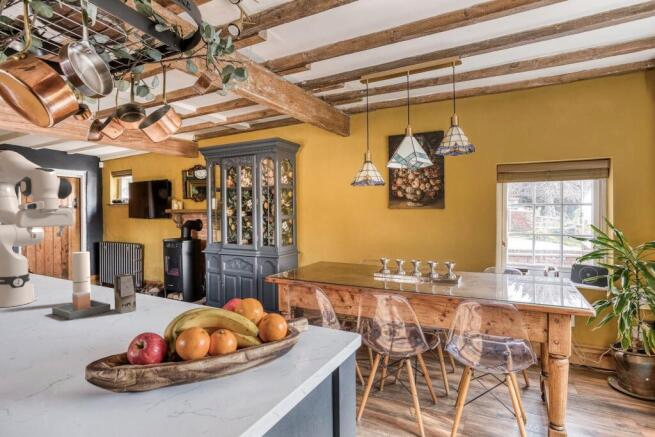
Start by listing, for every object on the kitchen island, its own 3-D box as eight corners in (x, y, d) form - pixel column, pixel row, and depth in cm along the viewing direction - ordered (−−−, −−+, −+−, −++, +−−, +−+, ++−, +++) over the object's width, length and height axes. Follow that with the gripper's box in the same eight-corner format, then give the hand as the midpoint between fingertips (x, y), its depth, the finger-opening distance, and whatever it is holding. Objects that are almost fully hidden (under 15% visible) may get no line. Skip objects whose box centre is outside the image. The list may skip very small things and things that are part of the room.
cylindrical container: (94, 301, 179) (93, 251, 178) (83, 305, 172) (81, 253, 171) (81, 301, 180) (79, 251, 179) (69, 304, 172) (68, 253, 172)
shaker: (72, 311, 158) (72, 293, 158) (85, 309, 162) (84, 291, 162) (78, 313, 155) (77, 295, 155) (90, 310, 160) (90, 292, 159)
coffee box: (136, 310, 161) (135, 274, 161) (121, 313, 156) (120, 277, 156) (129, 307, 167) (128, 272, 167) (114, 309, 163) (113, 274, 162)
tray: (52, 314, 157) (52, 307, 157) (92, 305, 170) (92, 299, 170) (69, 320, 148) (69, 313, 148) (110, 310, 161) (110, 304, 161)
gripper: (70, 205, 165) (70, 235, 165) (13, 205, 147) (14, 238, 148) (76, 205, 161) (77, 236, 162) (19, 205, 144) (20, 239, 144)
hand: (46, 237), depth 155 cm, fingers open, 8 cm apart
